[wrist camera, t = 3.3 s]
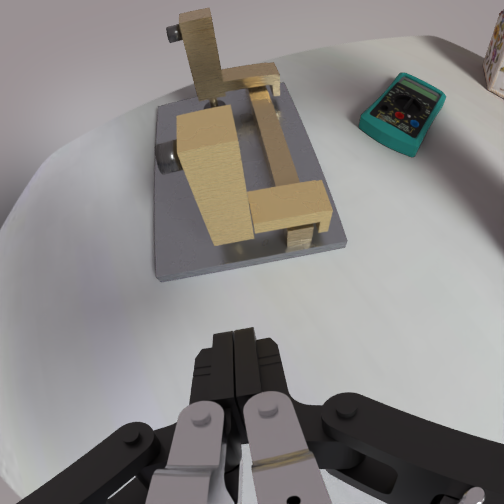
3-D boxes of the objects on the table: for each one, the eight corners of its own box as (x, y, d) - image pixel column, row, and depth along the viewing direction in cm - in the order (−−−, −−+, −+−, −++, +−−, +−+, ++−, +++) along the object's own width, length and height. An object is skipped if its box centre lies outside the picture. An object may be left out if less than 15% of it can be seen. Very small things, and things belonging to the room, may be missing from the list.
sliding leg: (317, 206, 27) (332, 91, 16) (327, 236, 25) (352, 124, 15) (198, 228, 27) (152, 122, 16) (201, 260, 25) (149, 159, 15)
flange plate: (284, 89, 37) (284, 81, 36) (344, 247, 27) (347, 240, 25) (160, 113, 37) (158, 105, 36) (161, 282, 27) (155, 276, 25)
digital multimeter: (354, 133, 33) (358, 114, 30) (397, 83, 37) (402, 67, 35) (410, 164, 31) (418, 146, 28) (442, 107, 35) (448, 91, 32)
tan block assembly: (273, 85, 35) (267, -3, 24) (328, 239, 26) (355, 124, 15) (190, 100, 35) (166, 14, 24) (203, 262, 26) (149, 159, 15)
